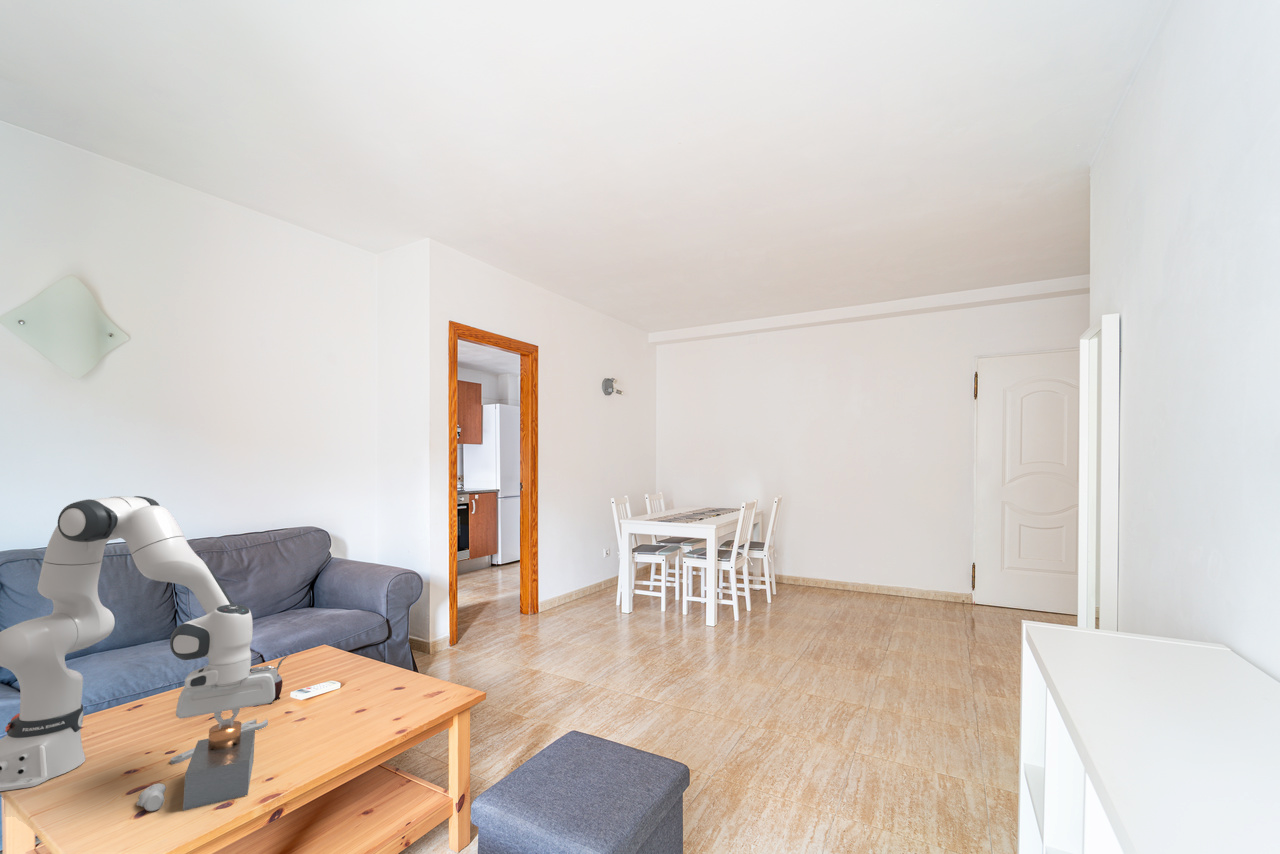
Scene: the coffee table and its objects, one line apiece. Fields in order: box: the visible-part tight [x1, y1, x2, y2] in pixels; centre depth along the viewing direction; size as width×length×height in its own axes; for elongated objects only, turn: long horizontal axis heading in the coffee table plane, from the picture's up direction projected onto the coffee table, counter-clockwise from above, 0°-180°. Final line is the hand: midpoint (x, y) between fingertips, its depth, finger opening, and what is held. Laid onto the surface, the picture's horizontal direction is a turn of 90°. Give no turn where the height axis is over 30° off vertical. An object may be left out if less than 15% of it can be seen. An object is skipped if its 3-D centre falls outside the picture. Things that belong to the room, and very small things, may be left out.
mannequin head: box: [136, 783, 167, 812], centre depth 129 cm, size 4×8×5 cm
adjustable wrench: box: [170, 718, 269, 765], centre depth 159 cm, size 25×6×2 cm, turn 156°
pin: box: [207, 720, 242, 750], centre depth 142 cm, size 7×7×11 cm
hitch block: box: [182, 730, 256, 812], centre depth 138 cm, size 12×18×8 cm, turn 31°
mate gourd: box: [268, 654, 290, 705], centre depth 187 cm, size 8×8×15 cm
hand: (226, 727), depth 142 cm, fingers closed, pressing on pin
